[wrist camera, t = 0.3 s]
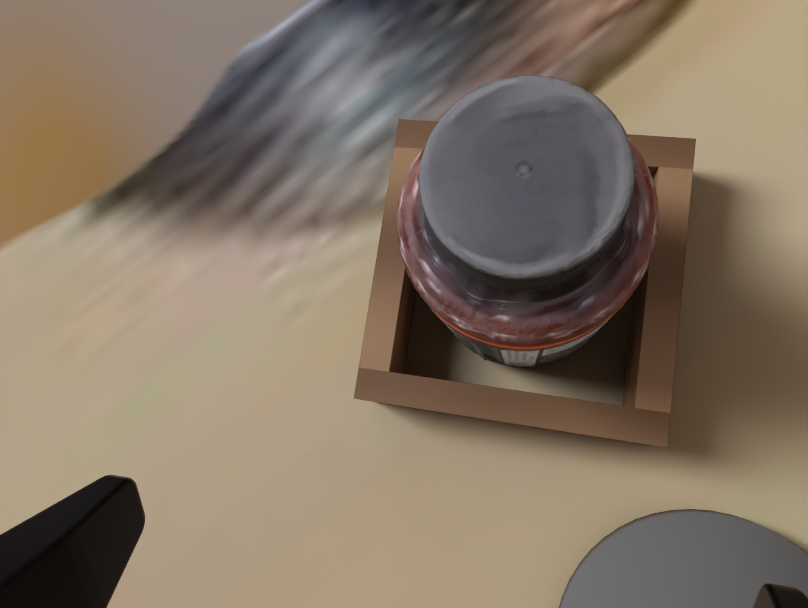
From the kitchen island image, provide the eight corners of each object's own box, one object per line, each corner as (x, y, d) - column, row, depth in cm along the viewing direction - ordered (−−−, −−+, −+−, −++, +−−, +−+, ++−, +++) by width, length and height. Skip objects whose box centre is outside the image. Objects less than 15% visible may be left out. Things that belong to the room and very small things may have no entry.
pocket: (650, 443, 21) (667, 447, 19) (371, 400, 23) (353, 398, 21) (677, 168, 23) (695, 138, 20) (411, 148, 24) (399, 119, 22)
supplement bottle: (412, 247, 24) (319, 104, 13) (563, 177, 23) (599, -36, 12) (480, 398, 22) (440, 382, 12) (641, 327, 22) (760, 238, 11)
